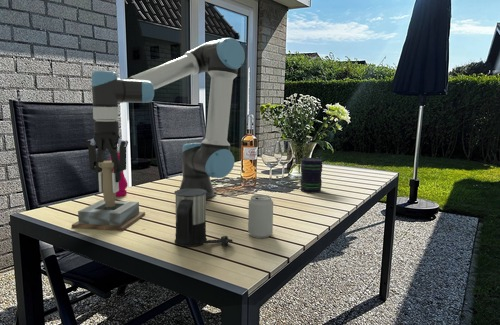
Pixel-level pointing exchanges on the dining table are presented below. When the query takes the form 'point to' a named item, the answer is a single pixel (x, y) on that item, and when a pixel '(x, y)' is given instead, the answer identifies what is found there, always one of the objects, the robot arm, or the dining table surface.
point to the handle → (108, 183)
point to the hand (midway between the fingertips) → (109, 191)
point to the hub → (109, 216)
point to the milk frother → (192, 218)
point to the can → (260, 216)
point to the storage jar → (311, 175)
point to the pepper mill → (121, 183)
